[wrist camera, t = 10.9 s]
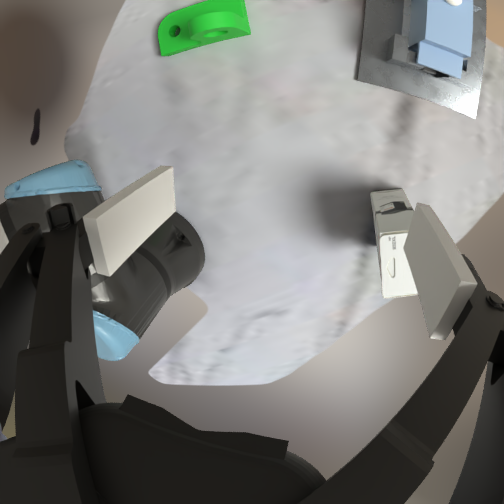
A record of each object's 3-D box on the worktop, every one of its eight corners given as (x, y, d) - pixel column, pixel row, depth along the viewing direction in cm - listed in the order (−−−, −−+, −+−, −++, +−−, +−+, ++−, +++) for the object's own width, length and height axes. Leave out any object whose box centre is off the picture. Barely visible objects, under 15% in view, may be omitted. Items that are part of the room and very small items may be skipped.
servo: (405, 66, 26) (424, 61, 19) (411, -23, 19) (428, -46, 12) (443, 78, 25) (470, 79, 18) (449, -9, 18) (473, -27, 11)
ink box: (408, 243, 39) (423, 296, 29) (375, 247, 40) (381, 301, 31) (404, 187, 35) (425, 228, 25) (369, 191, 36) (377, 233, 27)
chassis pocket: (357, 80, 29) (360, 79, 25) (368, -52, 18) (370, -70, 14) (473, 118, 26) (491, 125, 22) (484, -11, 15) (501, -20, 11)
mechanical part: (243, -4, 27) (220, -22, 20) (251, 34, 30) (228, 24, 23) (162, 20, 30) (127, 14, 24) (169, 56, 33) (134, 55, 27)
